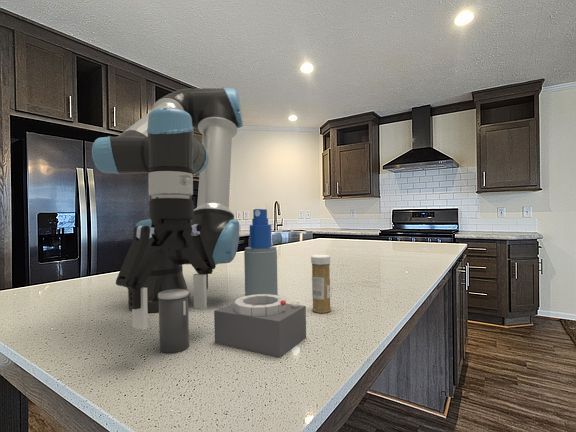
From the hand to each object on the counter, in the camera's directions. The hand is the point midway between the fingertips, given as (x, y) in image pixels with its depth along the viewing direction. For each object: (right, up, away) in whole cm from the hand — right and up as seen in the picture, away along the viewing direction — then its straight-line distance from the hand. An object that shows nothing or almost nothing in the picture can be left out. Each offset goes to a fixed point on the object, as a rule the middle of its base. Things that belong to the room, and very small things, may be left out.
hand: (173, 317), depth 60 cm
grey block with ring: (+15, -5, +3) cm, 17 cm away
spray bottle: (+13, -5, +32) cm, 35 cm away
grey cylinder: (0, -6, +1) cm, 6 cm away
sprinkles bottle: (+29, -5, +22) cm, 36 cm away
